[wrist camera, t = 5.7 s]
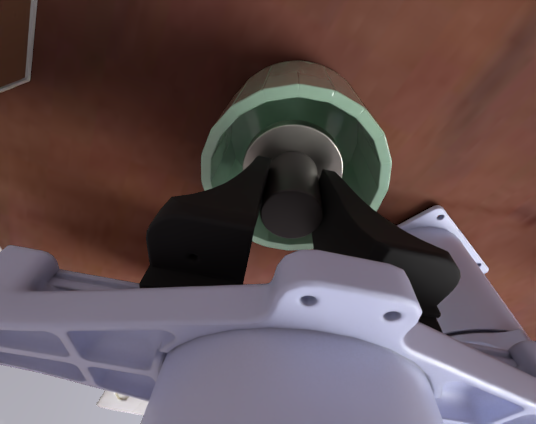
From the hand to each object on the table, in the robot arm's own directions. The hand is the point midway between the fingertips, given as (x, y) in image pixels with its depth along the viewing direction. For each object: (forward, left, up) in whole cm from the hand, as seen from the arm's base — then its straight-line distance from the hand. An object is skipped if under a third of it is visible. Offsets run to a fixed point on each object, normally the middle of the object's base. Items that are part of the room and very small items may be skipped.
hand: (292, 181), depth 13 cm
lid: (0, 0, -1) cm, 1 cm away
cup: (0, 0, -6) cm, 6 cm away
